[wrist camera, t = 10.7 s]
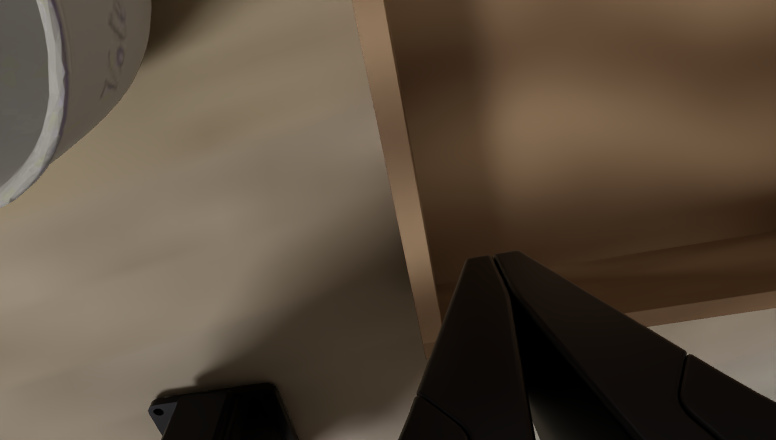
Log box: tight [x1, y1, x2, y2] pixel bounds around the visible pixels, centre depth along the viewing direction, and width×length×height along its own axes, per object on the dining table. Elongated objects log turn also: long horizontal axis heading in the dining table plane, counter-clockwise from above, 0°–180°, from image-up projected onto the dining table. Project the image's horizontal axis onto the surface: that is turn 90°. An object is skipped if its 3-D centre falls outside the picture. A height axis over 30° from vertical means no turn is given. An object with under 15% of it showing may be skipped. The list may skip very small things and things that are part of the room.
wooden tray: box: [352, 0, 776, 359], centre depth 17 cm, size 18×16×4 cm
